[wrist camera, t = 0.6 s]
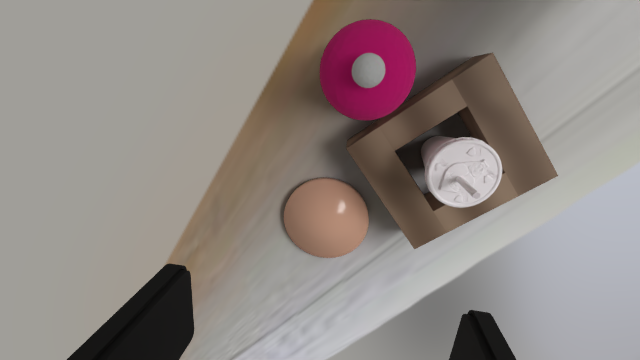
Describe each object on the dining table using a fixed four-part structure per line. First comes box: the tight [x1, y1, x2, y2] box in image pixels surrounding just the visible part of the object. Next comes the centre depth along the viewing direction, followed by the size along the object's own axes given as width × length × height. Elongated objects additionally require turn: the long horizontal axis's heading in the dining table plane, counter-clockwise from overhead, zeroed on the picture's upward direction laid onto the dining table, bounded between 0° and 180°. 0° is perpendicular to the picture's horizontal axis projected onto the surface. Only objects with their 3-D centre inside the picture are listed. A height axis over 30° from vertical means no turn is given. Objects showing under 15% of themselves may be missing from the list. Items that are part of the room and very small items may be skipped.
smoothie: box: [421, 136, 502, 208], centre depth 29 cm, size 6×6×14 cm
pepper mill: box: [320, 19, 416, 121], centre depth 25 cm, size 7×7×20 cm
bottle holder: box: [346, 53, 558, 249], centre depth 33 cm, size 16×14×5 cm
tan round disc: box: [284, 178, 369, 258], centre depth 40 cm, size 11×11×1 cm
